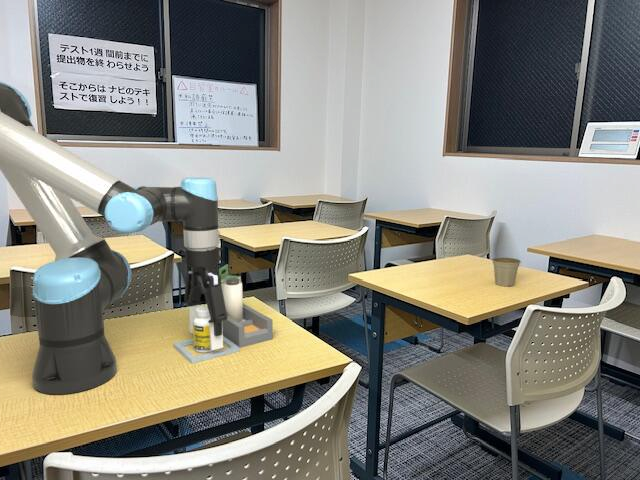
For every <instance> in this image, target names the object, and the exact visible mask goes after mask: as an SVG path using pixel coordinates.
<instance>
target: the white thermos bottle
mask: <svg viewBox="0 0 640 480" xmlns="http://www.w3.org/2000/svg"><path fill="white" fill-rule="evenodd" d="M223 297H224V302H225V308H226V313H227V316H229V317H231V318H232V319H234V320H235V321H237V322H242V321H243V304H244V302H243V301H244V300H243V299H244V298H243V282H242V281H241V282H239V279H237V278H230V279H227V280H226V282H225V283H223Z"/></svg>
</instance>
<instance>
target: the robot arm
mask: <svg viewBox="0 0 640 480" xmlns="http://www.w3.org/2000/svg"><path fill="white" fill-rule="evenodd" d="M31 116H32V110H31V107H30V104H29V102H28V100H27V98H26V97H25V96H24V95H23V93H22V92H20V91H19V90H18V89H17V88H16V87H14V86H12V85H10V84H8V83H6V82H3V81H1V80H0V172H1V173H2V175H3V176H4V178H5V179H6V181H7V183H8V184H9V185H10V187H11V188H12V190H13V191H14V193H15V194H16V196H17V197H18V198H19V200H20V202H21V204H22V205H23V207H24V209H26V211H27V213H28V214H29V217H31V219H32V220H33V222H34V223H35V224H36V226H37V228H38V229H39V231H40V232H41V234H42V235H43V237H44V238H45V240H46V242H47V243H48V245H49V247H50V248H51V249H52V251H53V252H54V255H55V257H54V260H53V261H50V262H48V263H45V264H43V265H42V266H40V267H39V268H38V269H37V270H36V271H35V272H34V273H33V277H32V283H33V284H32V285H33V286H32V296H33V299H34V308H35V314H36V317H35V318H36V325H37V326H36V327H37V332H38V333H37V334H38V343H39V347H38V352H37V355H36V360H35V363H34V367H33V371H32V375H31V376H32V383H33V388H34V389H35V390H36V391H37V390H38V391H37V392H39V391H40V392H39V393H42V394H48V395H67V394H68V395H69V394H75V393H80V392H83V391H88V390H90V389H94V388H96V387H98V386H100V385H103V384H106V383H107V382H109V381H110V380H111V379H112V378H113V377H114V376H115V375H116V373H117V371H118V368H117V359H116V356H115V355H114V352H113V350H112V348H111V345H110V344H109V342H108V340H107V337H106V335H105V334H106V333H105V324H104V320H105V319H104V310H105V309H106V308H108V307H109V306H110V305H111V304H112V303H114V302H116V301H118V300H119V299H120V298H121V297H122V296H123V295H124V294H125V292H126V290H128V288H129V286H130V284H131V281H132V267H131V265H130V263H129V261H128V260H127V259H126V257H125V256H124V255H123V254H121V253H120V252H118V251H116V250H113V249H111V247H110V245H109V244H108V242H107V241H106V239H105V238H104V237H101V236H97V235H94V233H93V232H92V230H91V229H90V227H89V226H88V224H87V223H86V221H85V219H84V218H83V216H82V215H81V213H80V212H79V210H78V208H77V207H76V205H75V204H74V201H75V202H77V203H79V204H81V205H82V206H85V207H86V208H87V209H90V210H92V211H93V212H95V213H97V214H99V215H100V216H102V217H104V218H105V221H106V222H107V224H108V225H109V227H110V228H111V229H112V230H114V231H115V232H117V233H120V234H124V235H128V234H135V233H139V232H142V231H144V230H145V229H147V228H148V227H150V226H152V225H154V224H157V223H159V222H182V225H183V226H182V227H183V246H184V247H185V249H184V263H185V265H186V279H185V289H184V297H183V298H184V302H186V304H187V306H188V319H189V321H188V322H189V333H190V334H194V331H193V320H194V318H195V317H197V316H196V308H198V307H201V306H202V305H201V304H202V301H201V296H202V294H203V295H204V300H205V302H206V306H207V307H208V310H209V314H210V317H211V319H210V320H209V321H208V322H209V327H210V349H211V350H215V349H216V350H219V349H222V348H224V344H223V328H222V321H223V320H227V313H226V308H225V302H224V297H223V292H222V286H221V276H220V275H219V274H215V270H214V268H215V266H218V265H219V263H220V259H221V258H220V248H219V247H218V246H219V245H220V243H219V242H220V240H219V238H220V234H221V232H220V230H219V203H218V202H219V197H218V189H217V183H216V180H215V179H214V178H211V177H201V176H199V177H184V178H182V179H181V183H180V186H174V187H173V186H172V187H171V186H163V187H162V186H144V185H143V186H135V187H134V186H130V185H129V184H127V183H125V182H123V181H121V180H120V179H118V178H116V177H115V176H113V175H112V174H110V173H108V172H106V171H104V170H103V169H101V168H100V167H97V166H96V165H94V164H92V163H91V162H89V161H87V160H85V159H83V158H82V157H81V156H79V155H77V154H75V153H73V152H71V151H70V150H69V149H67V148H65V147H63V146H61V145H59V144H58V143H56V142H54V141H52V140H50V138H47V137H46V136H43V135H42V134H41V133H39V132H37V131H36V129H35V126H34V125H33V124H32V121H31ZM72 200H74V201H72ZM216 350H215V351H216Z"/></svg>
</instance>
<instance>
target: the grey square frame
mask: <svg viewBox="0 0 640 480" xmlns="http://www.w3.org/2000/svg"><path fill="white" fill-rule="evenodd" d="M172 344H173V348H175V349H176V351H178V352H179V353H180V354H181V355H182V356H183V357H184V358H185V359H186V360H188V361H189V362H190V363H191V364H194V363H200V362H203V361H206V360H207V361H208V360H211V359H215V358H218V357H222V356H226V355H230V354H233V353H237V352H240V348H241V347H240V348H239V347H238V346H237V345H235V344H234V343H232V342H231V341H230V340H228V339H227V338H225V337H224V336H223V345H225V346H226V347H227V348H225V349H220V350H215V351H212V352H208V353H203V354H200V355H197V356H195V355H193V353H191V351H189V350H188V349H187V348H186V346H190V345H194V338H190V339H185V340H181V341H176V342H173V343H172Z"/></svg>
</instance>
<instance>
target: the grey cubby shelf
mask: <svg viewBox="0 0 640 480" xmlns="http://www.w3.org/2000/svg"><path fill="white" fill-rule="evenodd" d="M273 327H274V326H273V319H272V318H270V317H268V316H267V315H265V314H263V313H261V312H259V311H257V310H256V309H254V308H252V307H250V306H249V305H247V304H245V303H243V321H242V322H237V321H235V320H234V319H232V318H231V317H229V316H227V320H223V321H222V328H223V336H224V337H225V338H227V339H228V340H230V341H231V342H232V343H234V344H235V345H237V346H238V347H239V348H243V347H247V346H251V345H255V344H259V343H263V342H267V341H271V340H273V339H274V335H273V334H274V333H273V332H274V331H273V330H274V329H273Z"/></svg>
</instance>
